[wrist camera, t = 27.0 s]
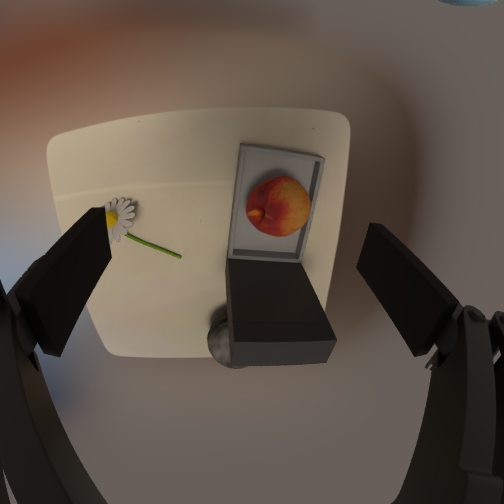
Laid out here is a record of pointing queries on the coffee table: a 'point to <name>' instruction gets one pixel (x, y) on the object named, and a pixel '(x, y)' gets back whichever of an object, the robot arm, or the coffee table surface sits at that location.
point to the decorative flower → (124, 222)
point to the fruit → (278, 206)
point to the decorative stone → (220, 342)
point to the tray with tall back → (273, 272)
